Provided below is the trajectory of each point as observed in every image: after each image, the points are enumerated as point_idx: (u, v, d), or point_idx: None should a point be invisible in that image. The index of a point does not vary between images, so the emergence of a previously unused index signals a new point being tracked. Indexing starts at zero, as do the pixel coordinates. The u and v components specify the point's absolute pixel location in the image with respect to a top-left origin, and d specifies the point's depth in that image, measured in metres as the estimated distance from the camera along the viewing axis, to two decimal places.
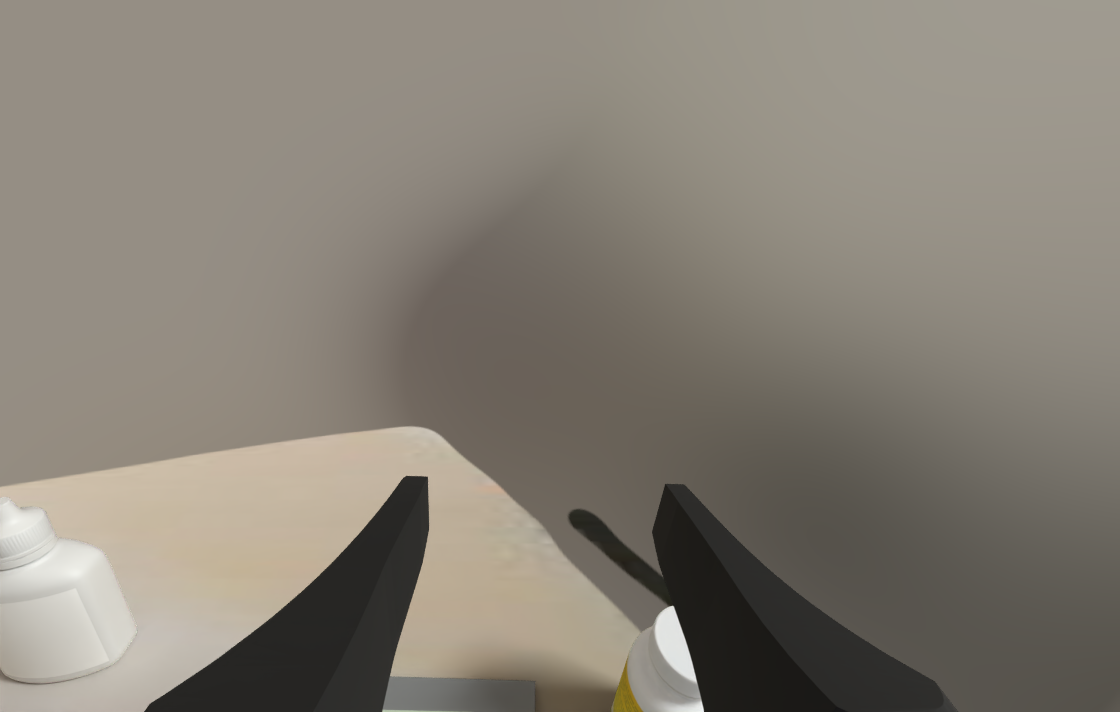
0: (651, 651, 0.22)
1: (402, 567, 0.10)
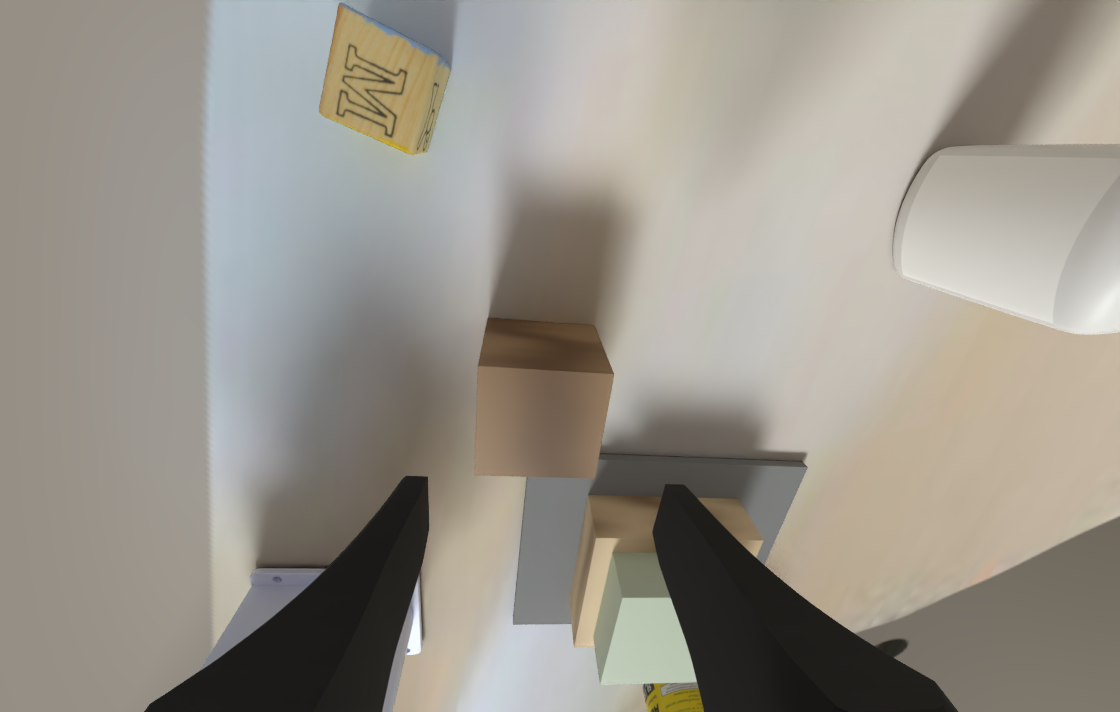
0: None
1: (402, 567, 0.10)
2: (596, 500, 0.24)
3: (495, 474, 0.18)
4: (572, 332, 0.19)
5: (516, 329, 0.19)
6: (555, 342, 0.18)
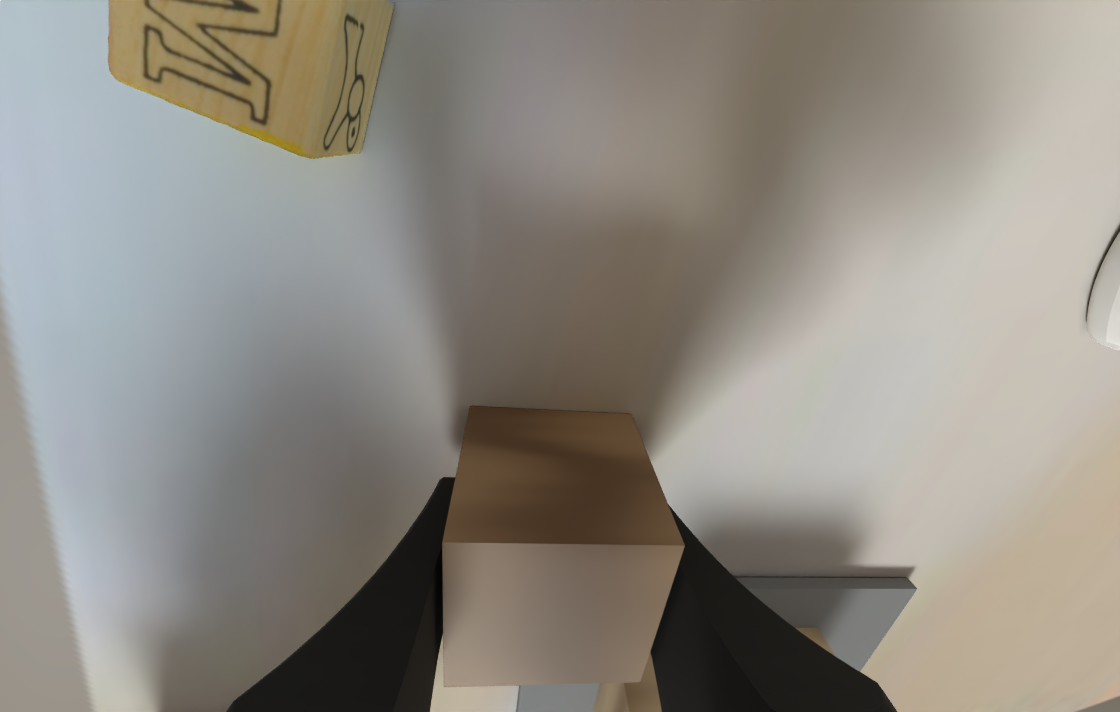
0: None
1: None
2: None
3: (478, 683, 0.11)
4: (599, 434, 0.12)
5: (513, 434, 0.12)
6: (576, 461, 0.11)
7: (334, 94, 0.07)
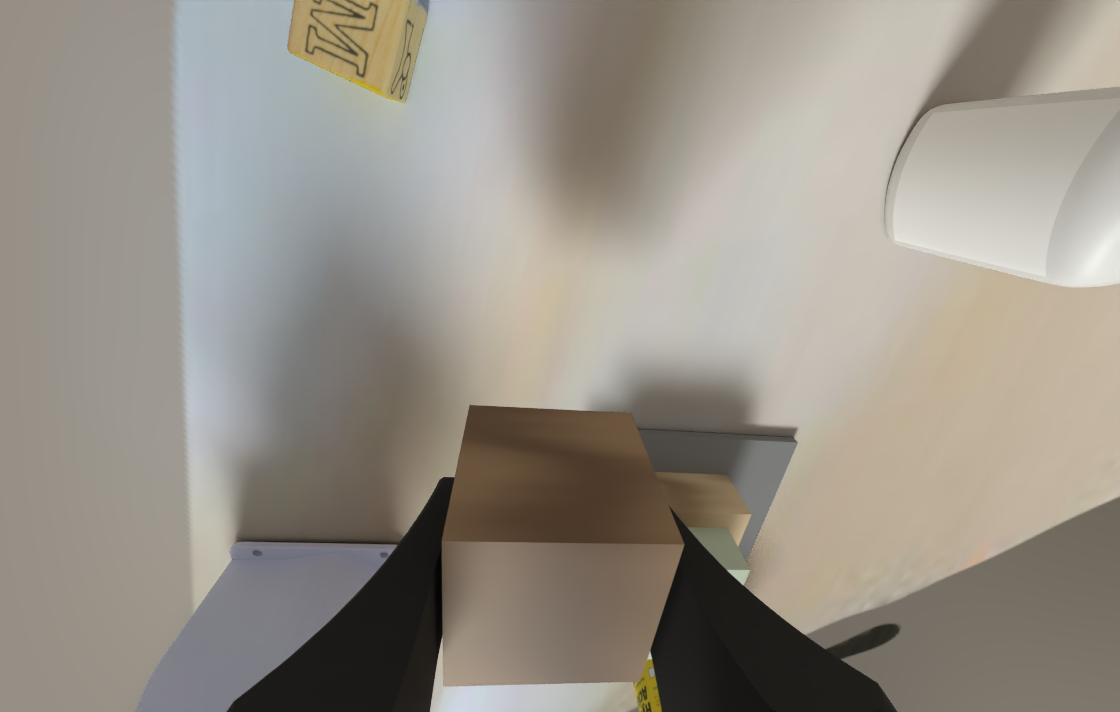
0: None
1: None
2: None
3: (477, 682, 0.11)
4: (599, 433, 0.12)
5: (513, 433, 0.12)
6: (575, 460, 0.11)
7: (398, 62, 0.14)
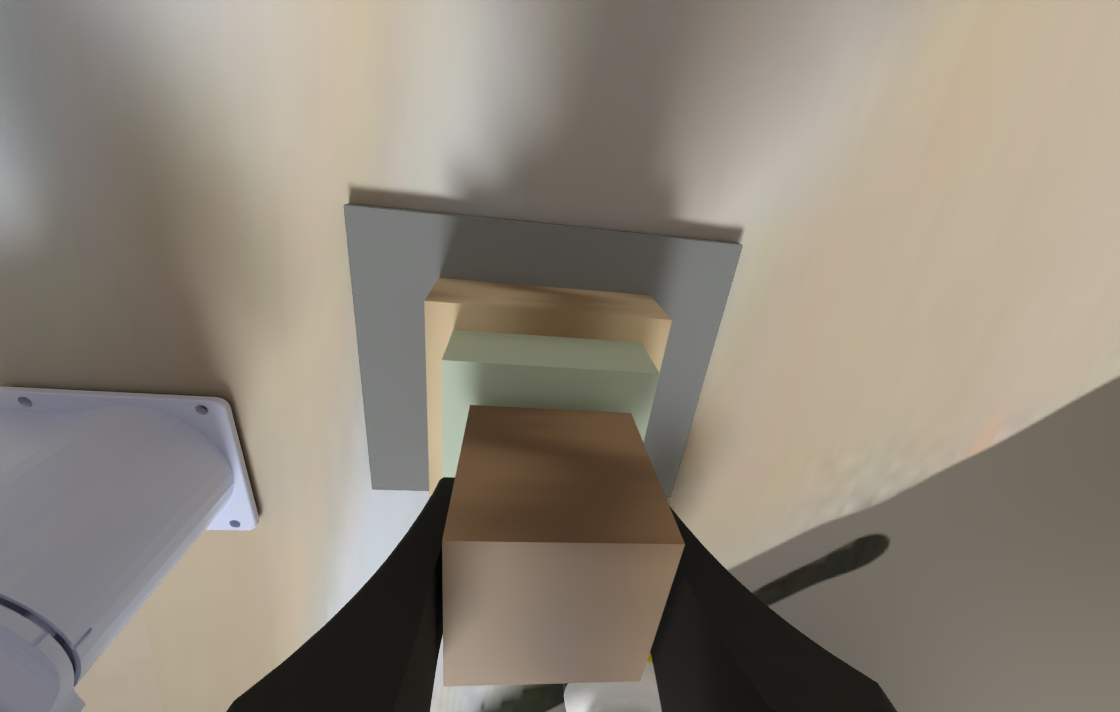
0: None
1: None
2: (448, 281, 0.17)
3: (478, 682, 0.11)
4: (600, 433, 0.12)
5: (513, 432, 0.12)
6: (575, 460, 0.11)
7: None
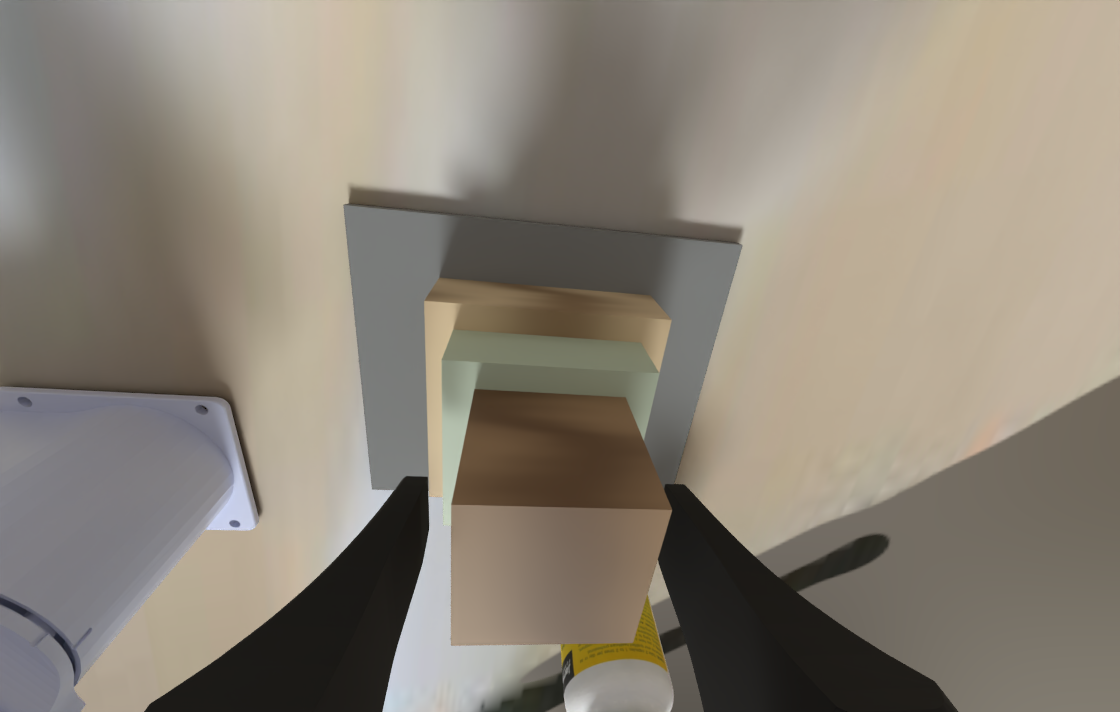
0: None
1: (402, 567, 0.10)
2: (448, 281, 0.17)
3: (483, 642, 0.12)
4: (596, 414, 0.13)
5: (515, 413, 0.13)
6: (573, 437, 0.12)
7: None
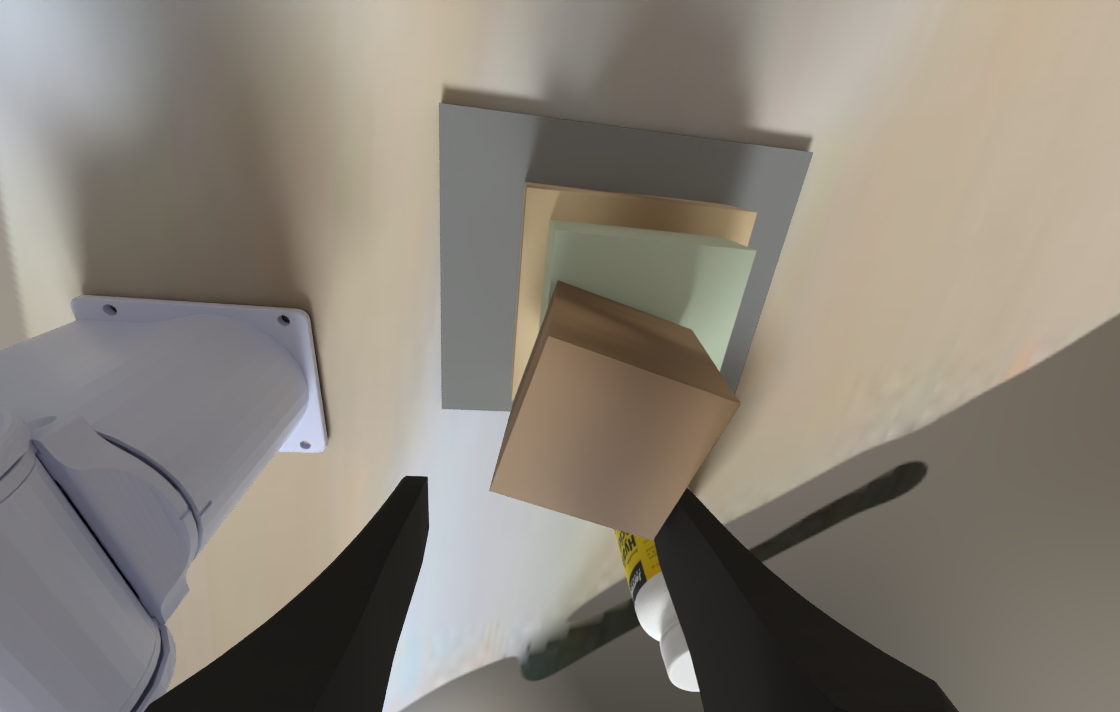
0: None
1: (402, 567, 0.10)
2: (535, 183, 0.18)
3: (517, 497, 0.12)
4: (667, 330, 0.14)
5: (596, 305, 0.13)
6: (648, 336, 0.13)
7: None
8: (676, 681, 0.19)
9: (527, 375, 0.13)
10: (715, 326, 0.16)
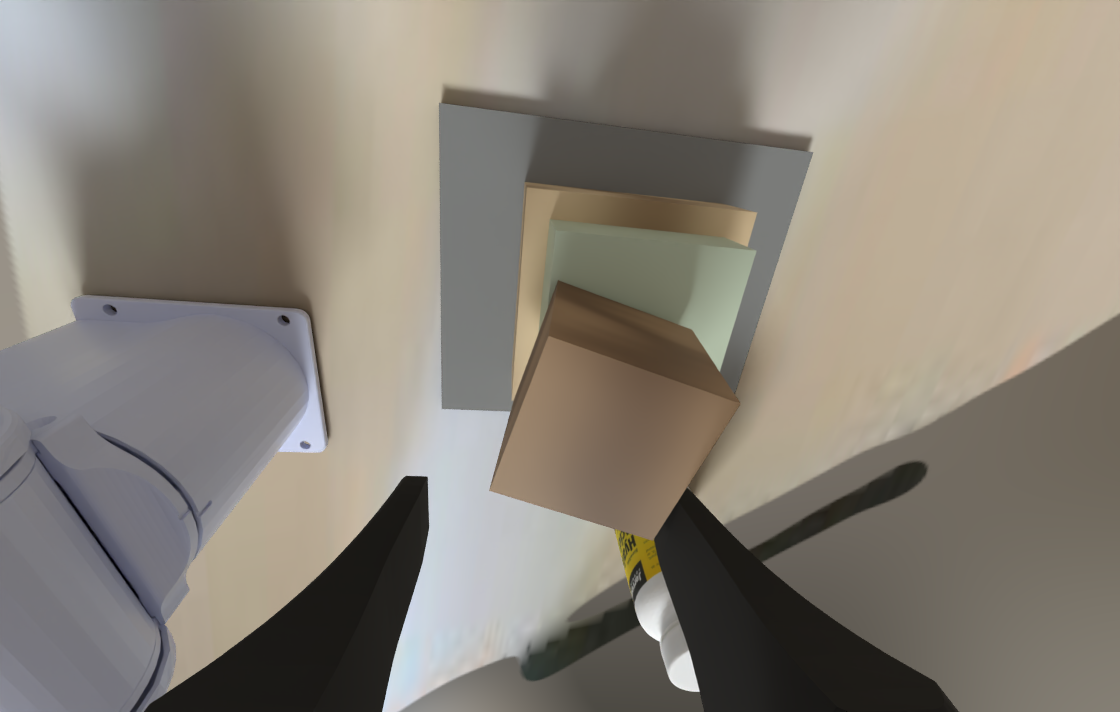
0: None
1: (402, 567, 0.10)
2: (535, 183, 0.18)
3: (517, 497, 0.12)
4: (667, 330, 0.14)
5: (596, 305, 0.13)
6: (649, 336, 0.13)
7: None
8: (676, 681, 0.19)
9: (527, 375, 0.13)
10: (715, 326, 0.16)
